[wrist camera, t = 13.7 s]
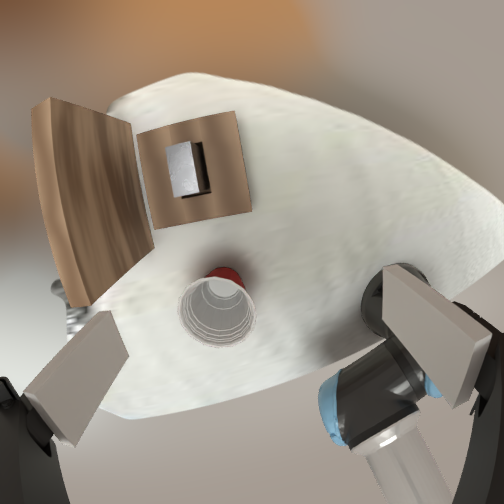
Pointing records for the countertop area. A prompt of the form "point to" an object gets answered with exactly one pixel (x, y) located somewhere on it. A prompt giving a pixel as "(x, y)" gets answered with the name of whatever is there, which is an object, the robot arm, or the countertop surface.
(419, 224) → the countertop surface
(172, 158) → the dark grey rectangular post
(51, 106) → the wooden panel stand
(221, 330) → the plastic cup
